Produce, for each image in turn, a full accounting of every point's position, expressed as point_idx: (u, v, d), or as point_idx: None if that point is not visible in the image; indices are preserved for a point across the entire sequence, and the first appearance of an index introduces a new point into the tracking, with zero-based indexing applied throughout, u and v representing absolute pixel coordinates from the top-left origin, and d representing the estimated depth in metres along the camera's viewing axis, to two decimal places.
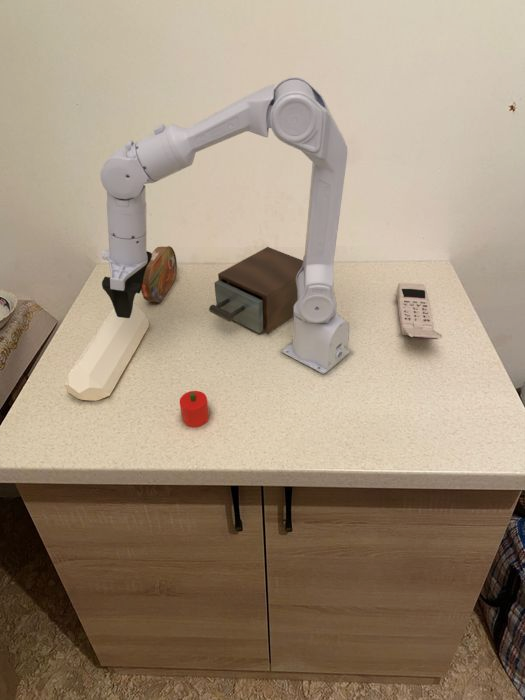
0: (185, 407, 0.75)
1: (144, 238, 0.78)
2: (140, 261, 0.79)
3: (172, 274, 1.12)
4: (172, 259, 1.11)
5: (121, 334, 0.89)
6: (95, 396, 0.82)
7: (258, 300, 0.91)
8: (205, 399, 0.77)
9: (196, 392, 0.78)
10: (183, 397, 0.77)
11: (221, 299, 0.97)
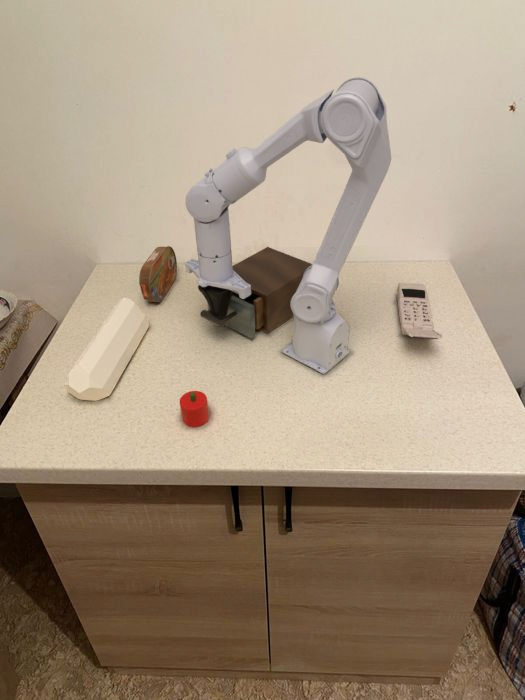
0: (185, 407, 0.75)
1: None
2: (232, 269, 0.88)
3: (172, 274, 1.12)
4: (172, 259, 1.11)
5: (121, 334, 0.89)
6: (95, 396, 0.82)
7: (250, 305, 0.90)
8: (205, 399, 0.77)
9: (196, 392, 0.78)
10: (183, 397, 0.77)
11: None
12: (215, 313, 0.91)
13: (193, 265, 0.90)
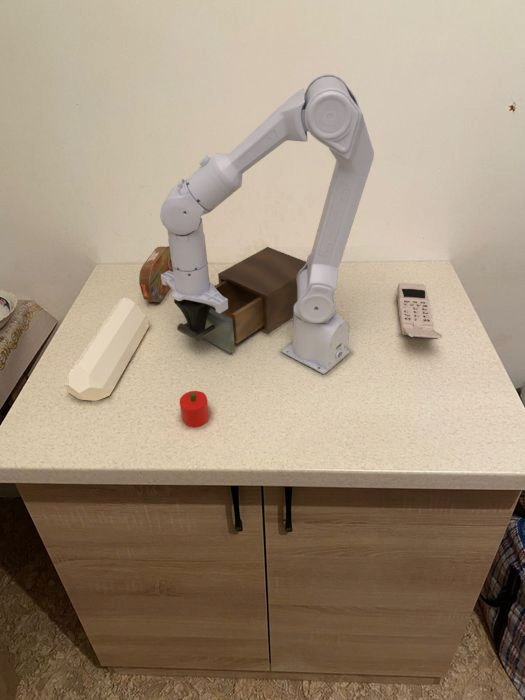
0: (185, 407, 0.75)
1: None
2: (209, 282, 0.84)
3: None
4: None
5: (121, 334, 0.89)
6: (95, 396, 0.82)
7: (228, 319, 0.87)
8: (205, 399, 0.77)
9: (196, 392, 0.78)
10: (183, 397, 0.77)
11: None
12: (192, 327, 0.88)
13: (169, 277, 0.87)
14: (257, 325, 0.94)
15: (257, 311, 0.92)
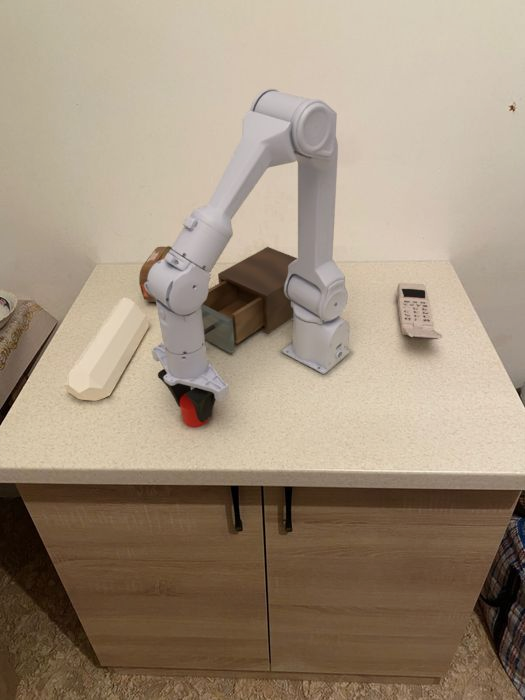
0: (186, 408, 0.75)
1: None
2: (207, 361, 0.73)
3: None
4: None
5: (121, 334, 0.89)
6: (95, 396, 0.82)
7: (228, 319, 0.87)
8: None
9: None
10: (183, 397, 0.77)
11: None
12: (197, 415, 0.75)
13: (161, 353, 0.76)
14: (257, 325, 0.94)
15: (257, 311, 0.92)
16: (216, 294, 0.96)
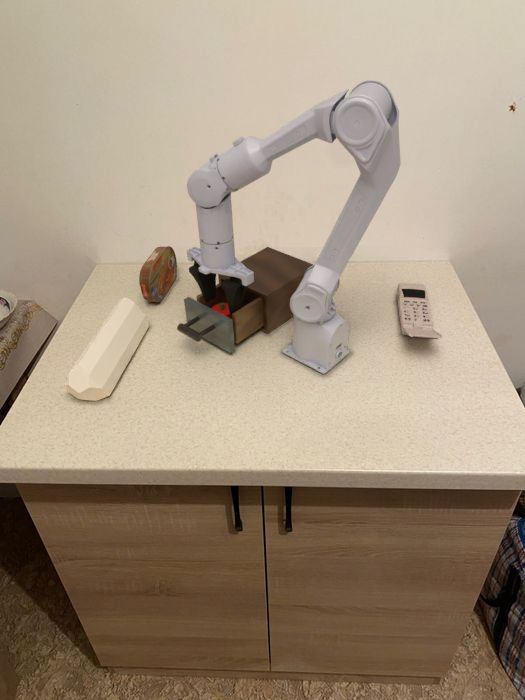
0: None
1: None
2: (234, 257, 0.87)
3: (172, 274, 1.12)
4: (172, 259, 1.11)
5: (121, 334, 0.89)
6: (95, 396, 0.82)
7: (228, 319, 0.87)
8: None
9: (224, 304, 0.94)
10: (214, 307, 0.93)
11: (191, 316, 0.93)
12: (229, 307, 0.89)
13: (195, 253, 0.89)
14: (257, 325, 0.94)
15: (257, 311, 0.92)
16: (216, 294, 0.96)
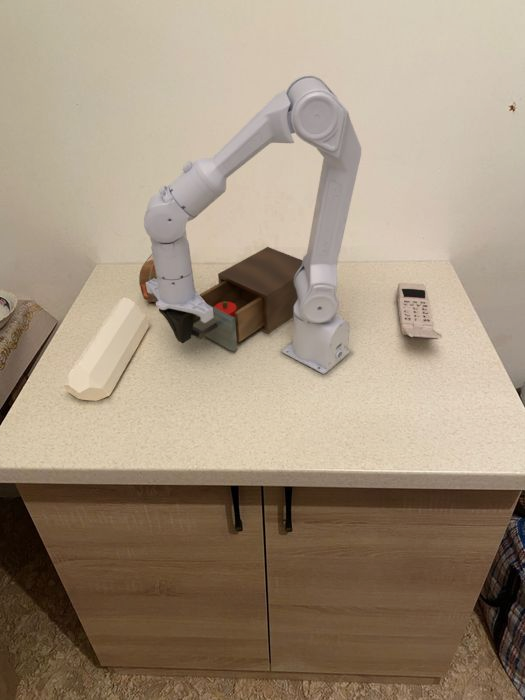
0: None
1: None
2: (194, 290, 0.82)
3: None
4: None
5: (121, 334, 0.89)
6: (95, 396, 0.82)
7: (230, 317, 0.87)
8: (235, 307, 0.93)
9: (227, 302, 0.94)
10: (216, 305, 0.93)
11: None
12: (178, 336, 0.86)
13: (154, 285, 0.85)
14: (260, 324, 0.95)
15: (259, 309, 0.93)
16: (218, 293, 0.96)
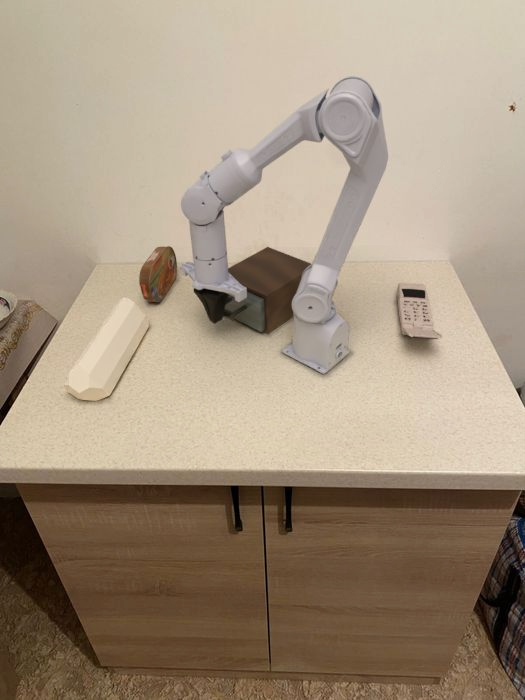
0: None
1: None
2: (228, 272, 0.87)
3: (172, 274, 1.12)
4: (172, 259, 1.11)
5: (121, 334, 0.89)
6: (95, 396, 0.82)
7: (260, 299, 0.91)
8: None
9: None
10: None
11: None
12: (211, 316, 0.90)
13: (188, 268, 0.90)
14: None
15: None
16: None
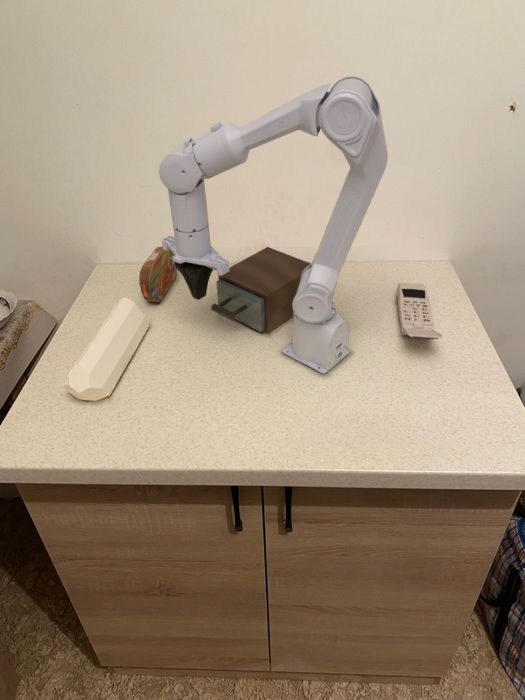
0: None
1: None
2: (210, 246, 0.84)
3: (172, 274, 1.12)
4: (172, 259, 1.11)
5: (121, 334, 0.89)
6: (95, 396, 0.82)
7: (260, 299, 0.91)
8: None
9: None
10: None
11: (223, 298, 0.98)
12: (193, 292, 0.87)
13: (170, 242, 0.87)
14: None
15: None
16: None
